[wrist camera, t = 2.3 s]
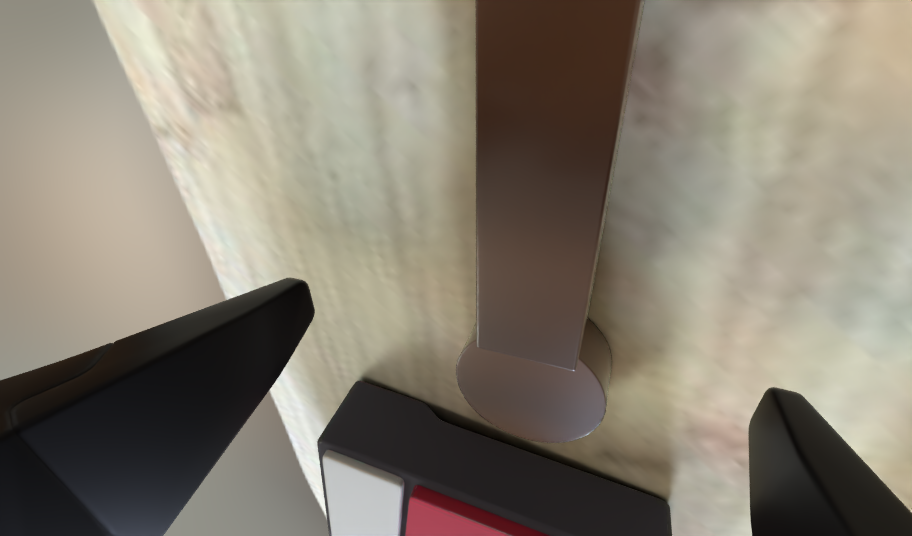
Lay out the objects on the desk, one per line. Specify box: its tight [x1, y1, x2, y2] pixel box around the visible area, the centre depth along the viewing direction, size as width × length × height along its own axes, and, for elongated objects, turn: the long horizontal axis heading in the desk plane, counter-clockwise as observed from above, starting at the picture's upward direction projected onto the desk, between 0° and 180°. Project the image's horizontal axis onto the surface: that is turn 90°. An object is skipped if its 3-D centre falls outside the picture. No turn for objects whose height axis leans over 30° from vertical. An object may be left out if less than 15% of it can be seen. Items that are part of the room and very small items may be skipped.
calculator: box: [317, 381, 672, 536], centre depth 22 cm, size 11×4×15 cm
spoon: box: [456, 0, 645, 443], centre depth 12 cm, size 17×5×3 cm, turn 2°
